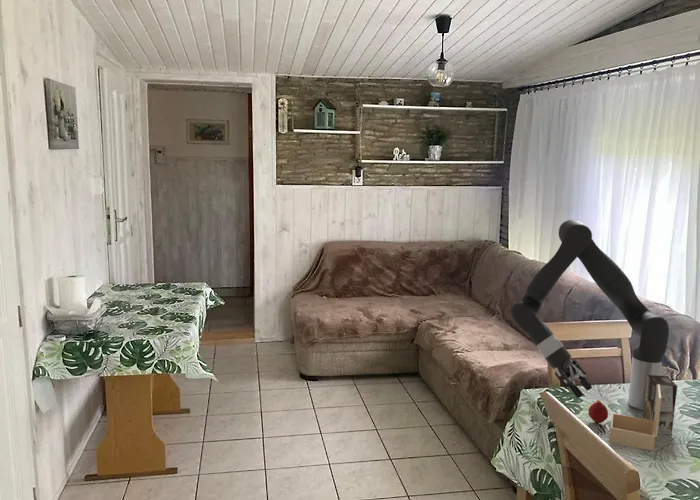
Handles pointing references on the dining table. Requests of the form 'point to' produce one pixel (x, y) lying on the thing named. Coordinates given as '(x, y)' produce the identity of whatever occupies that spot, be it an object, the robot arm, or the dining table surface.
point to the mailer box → (636, 428)
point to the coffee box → (667, 401)
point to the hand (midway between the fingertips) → (585, 392)
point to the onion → (598, 412)
